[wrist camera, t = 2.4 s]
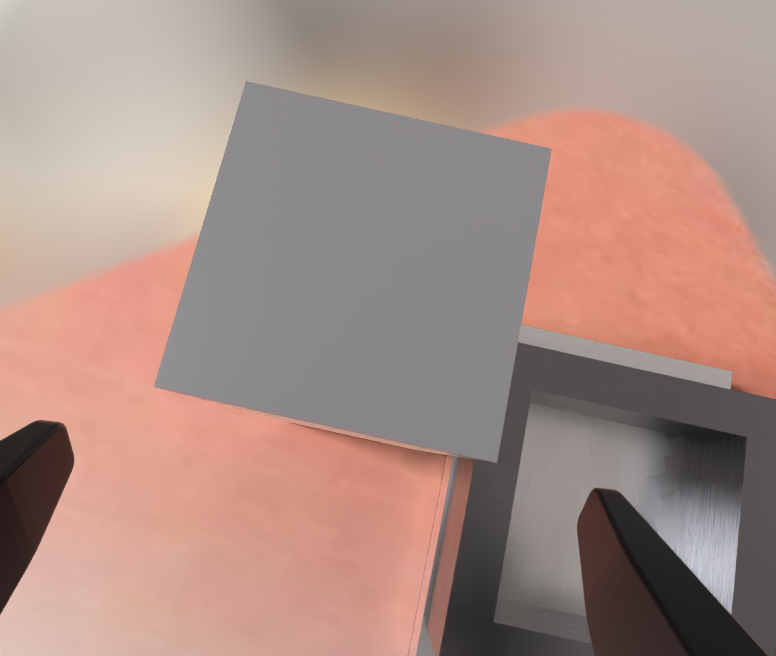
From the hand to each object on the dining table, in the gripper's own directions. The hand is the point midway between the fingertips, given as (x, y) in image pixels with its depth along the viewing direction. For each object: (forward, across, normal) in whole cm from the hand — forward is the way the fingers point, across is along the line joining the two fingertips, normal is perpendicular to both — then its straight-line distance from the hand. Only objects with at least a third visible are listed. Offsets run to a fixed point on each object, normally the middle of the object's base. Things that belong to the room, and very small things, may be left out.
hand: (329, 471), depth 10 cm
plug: (+9, 0, +5) cm, 10 cm away
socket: (+6, -8, +8) cm, 12 cm away
